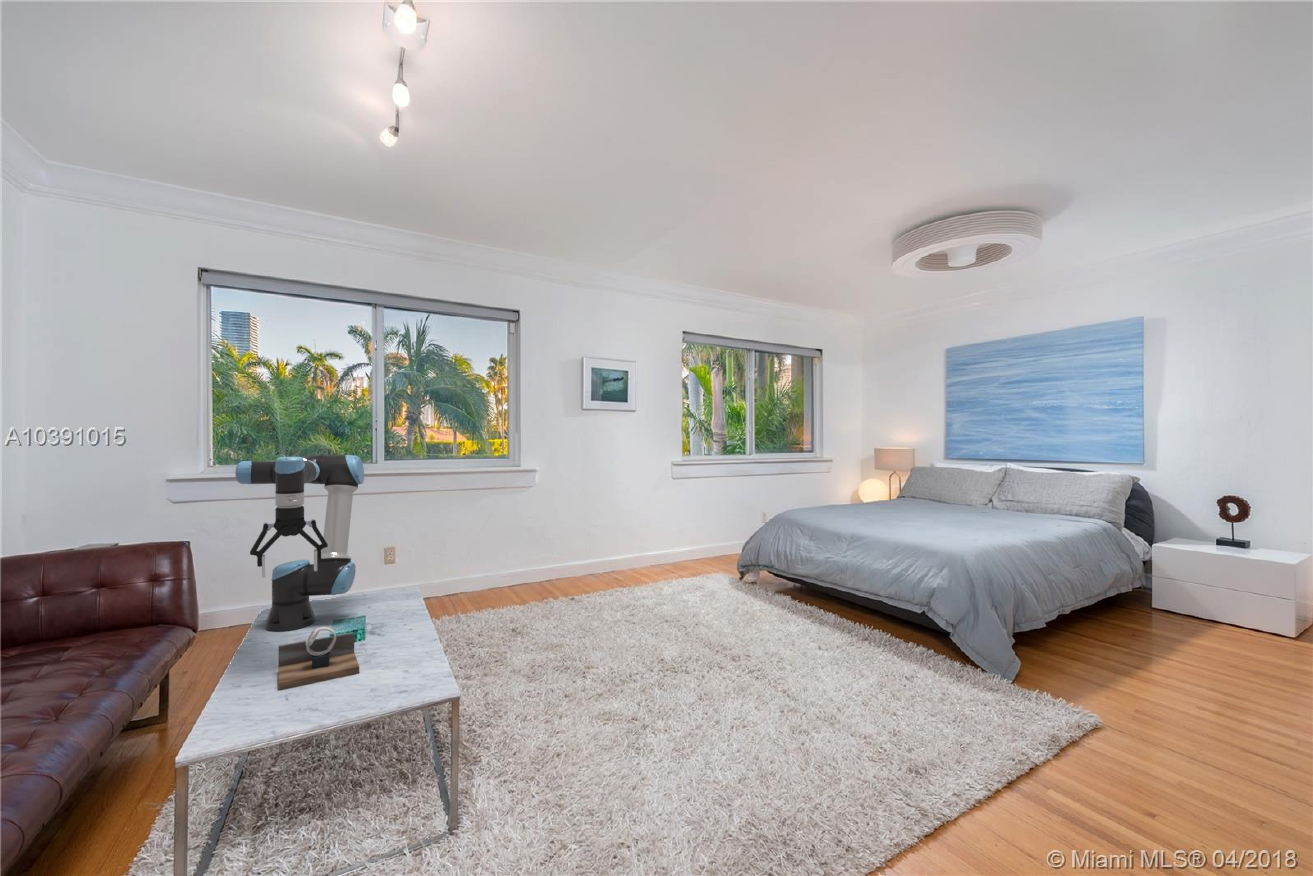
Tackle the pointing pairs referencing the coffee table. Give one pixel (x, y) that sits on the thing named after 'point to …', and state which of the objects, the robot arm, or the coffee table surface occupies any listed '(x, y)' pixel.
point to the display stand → (299, 661)
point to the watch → (320, 657)
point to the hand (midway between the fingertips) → (290, 573)
